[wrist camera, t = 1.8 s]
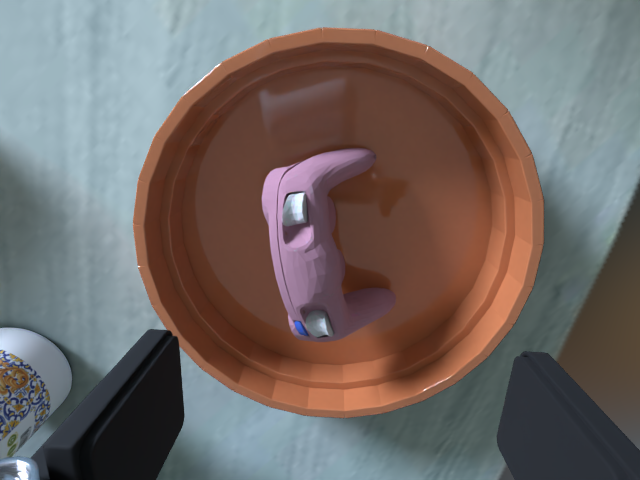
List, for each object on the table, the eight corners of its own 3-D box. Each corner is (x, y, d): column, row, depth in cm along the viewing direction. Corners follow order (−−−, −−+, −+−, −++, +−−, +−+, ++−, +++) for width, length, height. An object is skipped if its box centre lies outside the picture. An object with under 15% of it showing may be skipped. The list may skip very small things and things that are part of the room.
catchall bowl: (151, 37, 19) (107, 17, 16) (543, 53, 19) (595, 38, 15) (180, 364, 26) (153, 407, 22) (474, 381, 25) (499, 427, 22)
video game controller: (307, 150, 22) (228, 176, 16) (380, 139, 20) (317, 164, 14) (336, 298, 25) (277, 363, 19) (402, 304, 23) (358, 379, 17)
